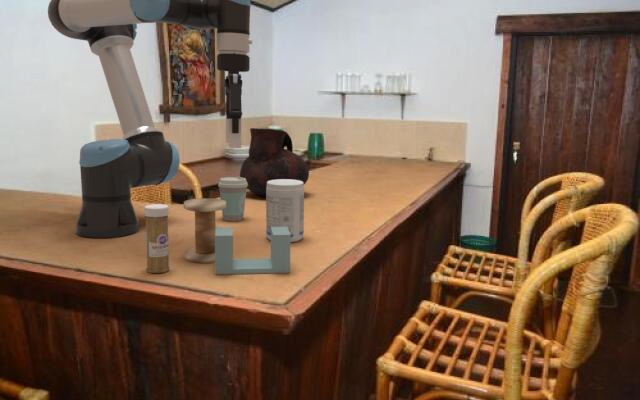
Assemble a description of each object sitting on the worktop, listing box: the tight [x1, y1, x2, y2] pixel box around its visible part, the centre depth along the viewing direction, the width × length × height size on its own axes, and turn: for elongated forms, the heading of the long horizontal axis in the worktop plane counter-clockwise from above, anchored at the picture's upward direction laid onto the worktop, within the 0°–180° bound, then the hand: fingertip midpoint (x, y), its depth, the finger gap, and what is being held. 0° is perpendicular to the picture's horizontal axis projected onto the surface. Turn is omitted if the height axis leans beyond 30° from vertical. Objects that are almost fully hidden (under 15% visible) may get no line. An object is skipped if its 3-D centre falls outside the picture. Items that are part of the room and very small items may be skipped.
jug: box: [239, 127, 310, 198], centre depth 195 cm, size 25×25×25 cm
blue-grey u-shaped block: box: [214, 226, 291, 275], centre depth 111 cm, size 15×7×8 cm, turn 99°
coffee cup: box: [217, 176, 248, 222], centre depth 155 cm, size 8×8×12 cm
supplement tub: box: [265, 179, 305, 243], centre depth 135 cm, size 10×10×15 cm
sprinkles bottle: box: [144, 203, 170, 274], centre depth 107 cm, size 5×5×13 cm
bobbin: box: [183, 197, 226, 264], centre depth 117 cm, size 9×9×12 cm
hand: (233, 145), depth 128 cm, fingers open, 13 cm apart
